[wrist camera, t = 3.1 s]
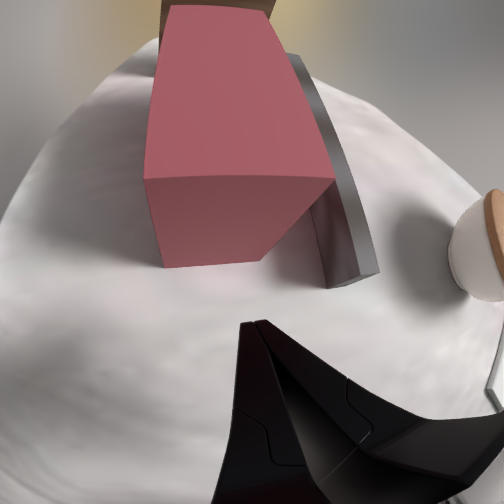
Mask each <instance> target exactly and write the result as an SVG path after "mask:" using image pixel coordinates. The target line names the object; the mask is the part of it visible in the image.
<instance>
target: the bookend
mask: <svg viewBox="0 0 504 504" xmlns="http://www.w3.org/2000/svg"><path fill="white" fill-rule="evenodd" d="M275 2H276V0H162V4H161V16H160V31H159V51H160V47H161V42H162V38H163V33H164V29H165V25H166V21H167V18H168V14H169V10H170V7H171V5H210V6H225V7H236V8H245V9H252V10H259V11H264V13H265V15H266V17H267V18H268V20H269V18H270V16H271V13H272V10H273V7H274V5H275ZM286 55H287V57H288V59H289V61H290V63H291V65H292V67H293V69H294V71H295V73H296V76H297V78H298V80H299V82H300V84H301V87H302V89H303V91H304V94H305V96H306V98H307V101H308V103H309V105H310V108H311V110H312V113H313V115H314V118H315V120H316V123H317V125H318V128H319V131H320V133H321V136H322V139H323V141H324V144H325V147H326V150H327V153H328V155H329V158H330V161H331V164H332V167H333V170H334V173H335V176H336V179H335V180H334V181H333V182H332V183H331V184H330V186H329V187H328V188H327V189H326V190H325V191H324V192H323V193H322V194H321V195H320V196H319V198H318V199H317V200H316V201H315V202H314V203H313V204H312V205H311V206H310V210H311V214H312V218H313V223H314V227H315V231H316V236H317V240H318V245H319V249H320V254H321V258H322V263H323V268H324V273H325V278H326V283H327V288H328V289H331V288H337V287H343V286H347V285H350V284H352V283H355V282H357V281H360V280H363V279H365V278H368V277H370V276H373V275H375V274H377V273H380V271H379V266H378V262H377V258H376V254H375V250H374V246H373V242H372V238H371V235H370V231H369V227H368V224H367V220H366V217H365V214H364V210H363V207H362V204H361V201H360V198H359V194H358V191H357V188H356V185H355V182H354V179H353V177H352V174H351V171H350V168H349V165H348V163H347V160H346V157H345V155H344V152H343V149H342V147H341V144H340V142H339V139H338V137H337V134H336V132H335V129H334V127H333V125H332V122H331V120H330V118H329V115H328V113H327V111H326V109H325V106H324V104H323V102H322V100H321V98H320V95H319V93H318V91H317V89H316V87H315V85H314V83H313V81H312V79H311V77H310V75H309V73H308V71H307V69H306V67H305V65H304V63H303V62H302V60H301V58H300V56H299V55H295V54H290V53H286Z"/></svg>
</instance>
